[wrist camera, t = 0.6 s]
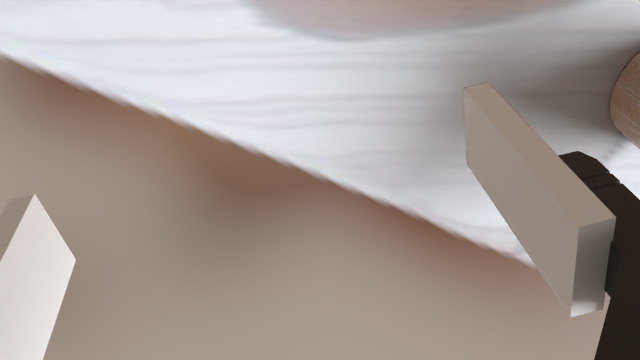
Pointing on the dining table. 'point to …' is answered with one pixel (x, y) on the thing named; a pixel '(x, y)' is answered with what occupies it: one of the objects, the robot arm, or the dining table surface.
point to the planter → (627, 102)
